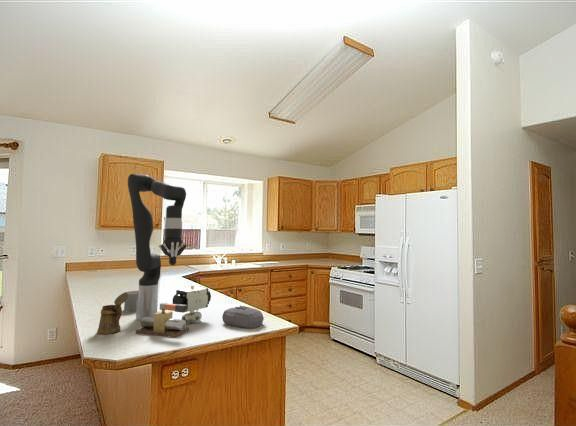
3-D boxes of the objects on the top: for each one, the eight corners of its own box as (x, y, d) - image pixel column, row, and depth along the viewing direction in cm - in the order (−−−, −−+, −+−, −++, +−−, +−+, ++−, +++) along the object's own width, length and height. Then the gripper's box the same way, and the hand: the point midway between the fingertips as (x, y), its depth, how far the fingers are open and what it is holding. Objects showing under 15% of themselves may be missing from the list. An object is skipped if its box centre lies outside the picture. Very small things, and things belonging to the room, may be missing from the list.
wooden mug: (115, 337, 139) (116, 293, 140) (92, 333, 144) (94, 291, 145) (132, 331, 147) (133, 290, 148) (109, 328, 152) (111, 288, 153)
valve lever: (157, 309, 146) (158, 303, 146) (163, 308, 149) (163, 302, 149) (182, 312, 141) (182, 306, 141) (187, 311, 144) (187, 304, 144)
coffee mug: (132, 312, 182) (133, 294, 182) (120, 310, 186) (120, 292, 186) (151, 307, 194) (152, 290, 194) (139, 306, 198) (140, 289, 199)
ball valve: (181, 327, 153) (182, 289, 154) (171, 324, 158) (172, 287, 159) (212, 319, 167) (213, 284, 168) (202, 317, 172) (202, 282, 173)
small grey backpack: (218, 325, 158) (251, 331, 148) (218, 307, 159) (251, 312, 149) (238, 318, 171) (270, 323, 161) (238, 302, 172) (270, 306, 161)
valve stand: (135, 333, 144) (136, 310, 145) (150, 327, 154) (151, 306, 154) (175, 337, 139) (176, 313, 139) (188, 330, 148) (189, 308, 149)
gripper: (163, 227, 148) (162, 266, 146) (190, 228, 157) (189, 264, 156) (156, 227, 153) (155, 265, 152) (182, 228, 162) (181, 263, 161)
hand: (172, 264), depth 154 cm, fingers closed
